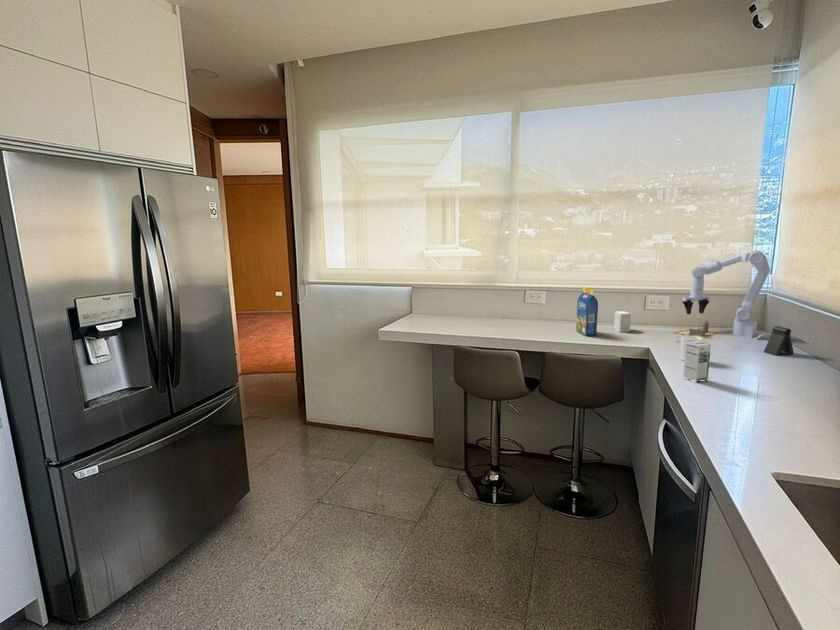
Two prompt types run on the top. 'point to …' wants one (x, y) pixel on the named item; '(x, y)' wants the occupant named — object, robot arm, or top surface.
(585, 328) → the blue food package
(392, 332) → the top surface
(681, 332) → the plywood board
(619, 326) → the small box
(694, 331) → the block
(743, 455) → the top surface
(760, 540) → the top surface
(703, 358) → the syrup box
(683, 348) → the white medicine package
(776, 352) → the phone stand
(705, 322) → the grey-capped wooden dowel
